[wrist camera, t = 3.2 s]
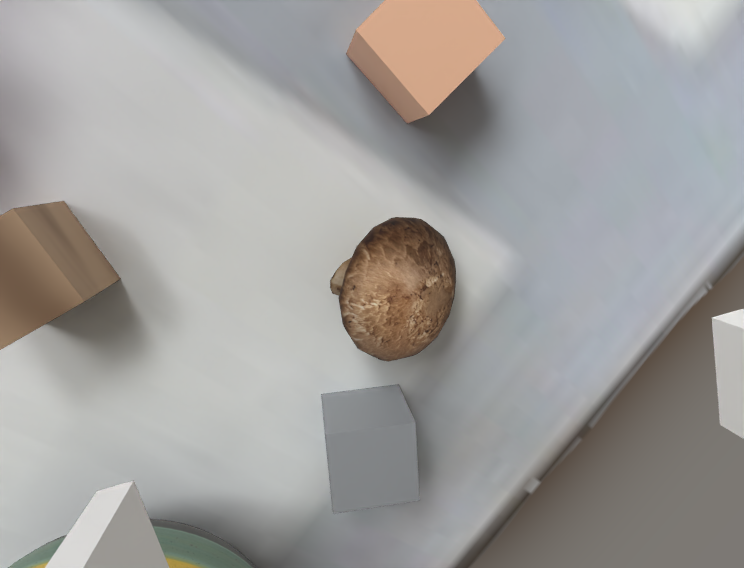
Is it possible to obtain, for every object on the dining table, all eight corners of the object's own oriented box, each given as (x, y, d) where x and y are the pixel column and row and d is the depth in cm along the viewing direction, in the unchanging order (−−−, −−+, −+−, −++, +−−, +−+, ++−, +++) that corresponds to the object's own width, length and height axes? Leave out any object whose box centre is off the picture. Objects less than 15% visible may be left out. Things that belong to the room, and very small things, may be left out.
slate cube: (328, 462, 33) (332, 514, 28) (321, 393, 31) (325, 434, 27) (402, 452, 33) (419, 500, 28) (398, 383, 32) (415, 422, 27)
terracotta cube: (406, 123, 28) (429, 114, 24) (345, 54, 27) (356, 29, 22) (470, 60, 28) (505, 38, 23) (411, -13, 27) (436, -53, 22)
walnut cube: (44, 322, 28) (-9, 354, 23) (-17, 246, 27) (-86, 264, 22) (121, 278, 28) (84, 301, 23) (64, 201, 27) (13, 208, 22)
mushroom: (275, 301, 26) (357, 330, 22) (347, 183, 28) (434, 188, 24) (357, 361, 32) (435, 393, 28) (412, 258, 34) (492, 273, 30)
